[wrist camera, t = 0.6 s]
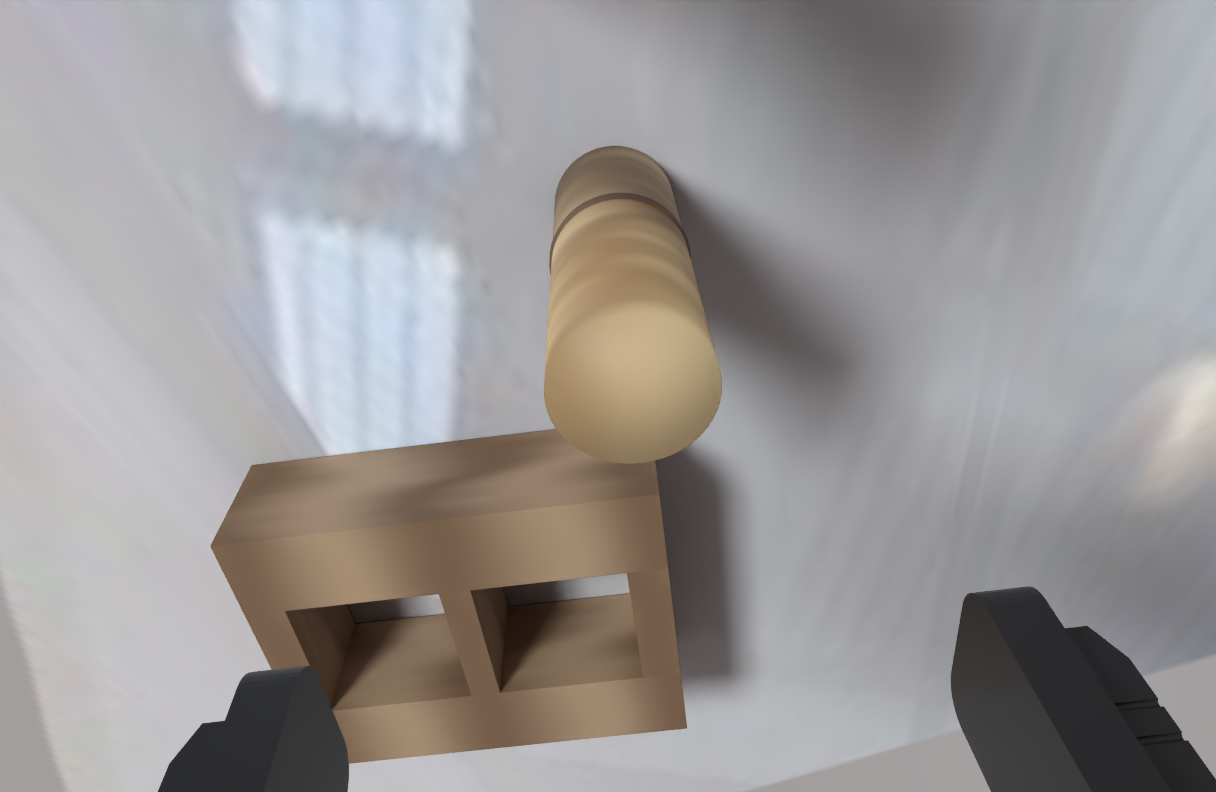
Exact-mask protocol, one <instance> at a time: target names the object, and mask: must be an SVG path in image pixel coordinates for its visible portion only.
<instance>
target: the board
mask: <svg viewBox="0 0 1216 792" xmlns="http://www.w3.org/2000/svg"><path fill="white" fill-rule="evenodd" d="M211 549H212V551H213V553H214V555H215V557H216V559H217V561H218V563H219V565H220V567H221V569H222V571H223V573H224V575H225V577H226V579H227V581H228V583H229V585H230V587H231V589H232V591H233V593H234V595H235V597H236V599H237V601H238V603H239V605H240V607H241V609H242V611H243V613H244V615H245V617H246V619H247V621H248V623H249V625H250V627H251V629H252V631H253V633H254V635H255V637H256V639H257V641H258V643H259V645H260V647H261V649H262V651H263V653H264V655H265V657H266V659H267V661H268V663H269V665H270V667H271V669H272V670H275V669H284V668H293V667H302V666H311V667H313V668H314V669H315V671H316V672H317V675H318V677H319V679H320V682H321V684H322V686H323V689H324V691H325V694H326V696H327V698H328V701H329V703H330V706H331V708H332V711H333V713H334V715H335V718H336V720H337V723H338V725H339V728H340V730H341V732H342V735H343V737H344V740H345V743H346V747H347V753H348V761H349V763H359V762H368V761H378V760H387V759H397V758H406V757H416V756H426V755H435V754H445V753H454V752H464V751H474V750H483V749H493V748H502V747H512V746H522V745H531V744H541V743H550V742H560V741H570V740H579V739H589V738H598V737H608V736H618V735H627V734H637V733H646V732H656V731H665V730H675V729H685V728H687V723H686V715H685V706H684V698H683V689H682V681H681V672H680V664H679V655H678V647H677V638H676V630H675V621H674V613H673V604H672V596H671V587H670V579H669V570H668V562H667V553H666V545H665V536H664V528H663V519H662V511H661V502H660V494H659V486H658V478H657V470H656V462H655V461H651V462H645V463H635V464H626V463H615V462H609V461H605V460H601V459H598V458H595V457H593V456H590V455H588V454H586V453H584V452H582V451H580V450H579V449H577V448H576V447H574V446H573V445H571V444H570V443H569V442H568V441H567V440H566V439H565V438H564V437H563V436H562V435H561V434H560V433H559V432H558V430H557V429H553V430H545V431H536V432H528V433H519V434H511V435H503V436H494V437H486V438H478V439H469V440H461V441H452V442H444V443H436V444H427V445H419V446H410V447H402V448H394V449H385V450H377V451H368V452H360V453H352V454H343V455H335V456H326V457H318V458H310V459H301V460H293V461H284V462H276V463H268V464H259V465H252V466H251V468H250V470H249V472H248V474H247V476H246V478H245V480H244V481H243V483H242V485H241V487H240V489H239V491H238V493H237V495H236V497H235V499H234V501H233V503H232V505H231V507H230V509H229V511H228V513H227V515H226V517H225V519H224V521H223V523H222V524H221V526H220V528H219V530H218V532H217V534H216V536H215V538H214V540H213V542H212V544H211ZM621 573H627V576H628V582H629V589H630V594H622V595H613V596H604V597H595V598H586V599H577V600H567V601H558V602H549V603H540V604H531V605H522V606H513V607H507V603H506V599H505V595H504V592H503V588H502V587H505V586H514V585H523V584H532V583H541V582H550V581H559V580H567V579H576V578H585V577H594V576H603V575H612V574H621ZM433 594H439V596H440V599H441V602H442V605H443V608H444V611H445V614H441V615H432V616H423V617H414V618H405V619H396V620H387V621H378V622H369V623H360V624H355V623H354V620H353V618H352V615H351V613H350V610H349V608H348V605H347V604H353V603H362V602H371V601H380V600H389V599H398V598H407V597H416V596H425V595H433Z"/></svg>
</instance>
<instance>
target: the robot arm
mask: <svg viewBox="0 0 1216 792" xmlns="http://www.w3.org/2000/svg"><path fill="white" fill-rule="evenodd" d="M951 691H952V698H953V703H954V707H955V711H956V714H957V718H958V720H959V723H960V726H961V728H962V730H963V732H964V735H965V737H966V739H967V741H968V743H969V745H970V747H971V750H972V752H973V754H974V756H975V758H976V760H977V762H978V764H979V766H980V769H981V771H982V773H983V775H984V777H985V779H986V782H987V784H988V786H989V788H990V790H991V792H1216V779H1215V778H1214V776H1213V775H1212V774H1211V772H1210V771H1209V770H1208V768H1207V767H1206V765H1205V764H1204V762H1203V761H1202V760H1201V758H1200V757H1199V756H1198V754H1197V753H1196V751H1195V750H1194V748H1193V747H1192V746H1191V744H1190V743H1189V741H1185V740H1184V739H1183V738H1182V735H1181V733H1182V732H1181V730H1180V729H1179V727H1178V726H1177V725H1176V723H1175V722H1174V720H1173V719H1172V718H1171V716H1170V715H1169V713H1168V712H1167V711H1166V709H1165V708H1164V707H1160V706H1159V704H1158V698H1157V697H1156V695H1155V694H1154V692H1153V691H1152V690H1151V688H1150V687H1149V685H1148V684H1147V683H1146V681H1145V680H1144V678H1143V677H1142V676H1141V674H1140V673H1139V671H1138V670H1137V668H1136V667H1135V666H1134V664H1133V663H1132V661H1131V660H1130V659H1129V658H1128V657H1127V656H1126V655H1124V654H1123V653H1122V652H1120V651H1119V650H1118V649H1116V648H1115V647H1114V646H1113V645H1111V644H1110V643H1109V642H1107V641H1106V640H1105V639H1104V638H1102V637H1101V636H1100V635H1098V634H1097V633H1096V632H1094V631H1093V630H1092V629H1091V628H1089V627H1088V626H1083V627H1074V628H1064V627H1063V625H1062V624H1061V622H1060V621H1059V619H1058V618H1057V616H1056V615H1055V613H1054V612H1053V610H1052V609H1051V607H1050V606H1049V604H1048V603H1047V601H1046V599H1045V598H1044V597H1043V595H1042V594H1041V593H1040V592H1039V591H1038V590H1036V589H1035V588H1033V587H1020V588H1011V589H1002V590H994V591H985V592H976V593H969V594H967V596H966V597H965V599H964V602H963V606H962V612H961V618H960V624H959V630H958V636H957V642H956V648H955V654H954V660H953V665H952V671H951ZM348 780H349V761H348V753H347V747H346V743H345V740H344V737H343V735H342V732H341V730H340V728H339V725H338V723H337V720H336V718H335V715H334V713H333V711H332V708H331V706H330V703H329V701H328V698H327V696H326V694H325V691H324V689H323V686H322V684H321V682H320V679H319V677H318V675H317V672H316V671H315V669H314V668H313V667H311V666H302V667H293V668H284V669H275V670H267V671H258V672H250V673H247V674H246V675H245V676H244V677H243V678H242V679H241V681H240V683H239V685H238V687H237V690H236V692H235V695H234V698H233V701H232V703H231V706H230V709H229V711H228V714H227V717H226V720H225V721H220V722H211V723H203V724H202V725H201V726H200V727H199V728H198V730H197V731H196V732H195V733H194V734H193V736H192V737H191V738H190V739H189V741H188V742H187V743H186V744H185V746H184V747H183V748H182V749H181V750H180V752H179V753H178V754H177V755H176V757H175V758H174V759H173V760H172V761H171V763H170V764H169V766H168V769H167V771H166V773H165V776H164V778H163V781H162V783H161V786H160V788H159V790H158V792H347V790H348Z"/></svg>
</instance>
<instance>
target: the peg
mask: <svg viewBox="0 0 1216 792" xmlns="http://www.w3.org/2000/svg"><path fill="white" fill-rule="evenodd" d="M549 266H550V275H551V280H550V297H549V314H548V332H547V349H546V366H545V383H544V397H545V404H546V408H547V412H548V414H549V416H550V419H551V421H552V423H553V424H554V426H555V427H556V429H557V430H558V432H559V433H560V434H561V435H562V436H563V437H564V438H565V439H566V440H567V441H568V442H569V443H570V444H571V445H573V446H574V447H576V448H577V449H579V450H580V451H582V452H584V453H586V454H588V455H590V456H593V457H595V458H598V459H601V460H605V461H609V462H615V463H626V464H635V463H645V462H651V461H655V460H659V459H663V458H665V457H668V456H670V455H673V454H675V453H677V452H679V451H681V450H683V449H684V448H686V447H687V446H689V445H690V444H691V443H693V442H694V441H695V440H696V439H697V438H698V437H700V436H701V434H702V433H703V432H704V431H705V430H706V429H707V427H708V426H709V425H710V423H711V422H712V420H713V418H714V416H715V414H716V412H717V410H718V407H719V404H720V399H721V394H722V379H721V372H720V368H719V364H718V361H717V357H716V353H715V349H714V346H713V342H712V338H711V334H710V331H709V327H708V323H707V319H706V316H705V312H704V308H703V304H702V301H701V297H700V293H699V289H698V286H697V282H696V278H695V274H694V271H693V267H692V263H691V254H690V248H689V244H688V240H687V237H686V234H685V232H684V230H683V228H682V225H681V222H680V218H679V214H678V210H677V207H676V203H675V199H674V195H673V192H672V188H671V185H670V182H669V180H668V178H667V176H666V174H665V172H664V171H663V169H662V168H661V167H660V166H659V165H658V164H657V163H656V162H655V161H654V160H653V159H652V158H650V157H649V156H647V155H646V154H644V153H642V152H640V151H638V150H635V149H632V148H628V147H622V146H608V147H602V148H598V149H595V150H592V151H590V152H588V153H586V154H584V155H582V156H581V157H579V158H578V159H577V160H576V161H574V162H573V163H572V164H571V165H570V166H569V168H568V169H567V170H566V171H565V173H564V174H563V176H562V178H561V180H560V182H559V185H558V188H557V191H556V196H555V211H554V228H553V241H552V244H551V250H550V264H549Z"/></svg>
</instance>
